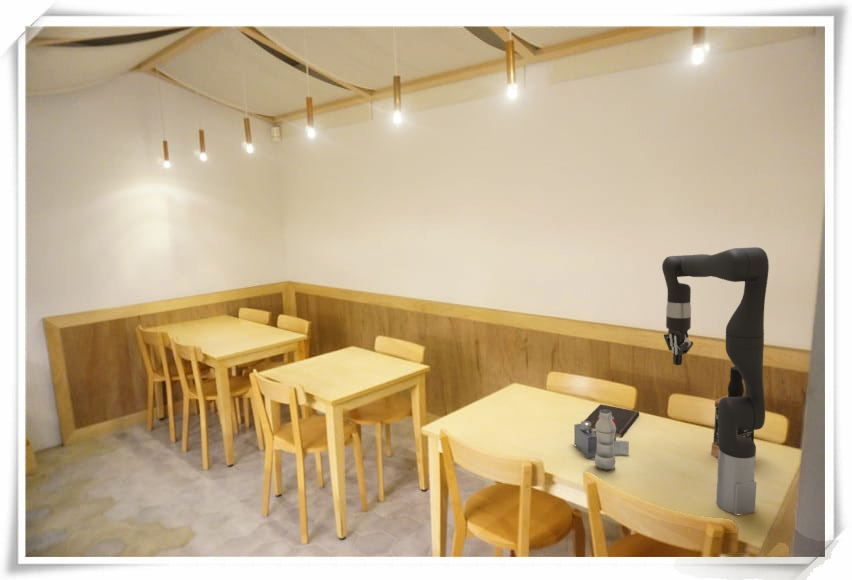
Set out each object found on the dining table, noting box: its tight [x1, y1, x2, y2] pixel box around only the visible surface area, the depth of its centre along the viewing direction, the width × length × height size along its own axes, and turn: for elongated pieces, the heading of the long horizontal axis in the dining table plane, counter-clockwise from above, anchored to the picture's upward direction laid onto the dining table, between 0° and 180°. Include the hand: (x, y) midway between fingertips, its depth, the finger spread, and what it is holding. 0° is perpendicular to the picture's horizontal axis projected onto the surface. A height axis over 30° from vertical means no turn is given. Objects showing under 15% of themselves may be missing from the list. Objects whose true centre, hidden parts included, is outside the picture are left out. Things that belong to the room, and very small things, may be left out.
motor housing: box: [573, 420, 630, 460], centre depth 198 cm, size 15×14×11 cm
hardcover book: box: [583, 403, 640, 438], centre depth 220 cm, size 16×23×2 cm
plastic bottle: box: [594, 410, 616, 471], centre depth 184 cm, size 6×7×20 cm
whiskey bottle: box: [710, 366, 755, 459], centre depth 185 cm, size 10×10×32 cm
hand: (677, 364), depth 188 cm, fingers closed
